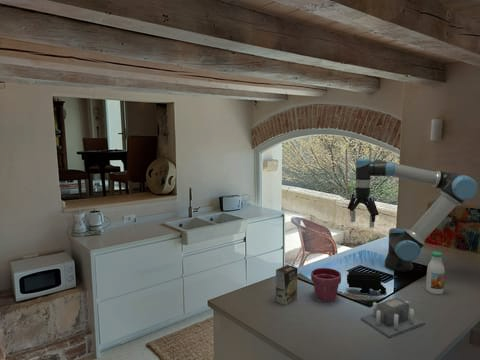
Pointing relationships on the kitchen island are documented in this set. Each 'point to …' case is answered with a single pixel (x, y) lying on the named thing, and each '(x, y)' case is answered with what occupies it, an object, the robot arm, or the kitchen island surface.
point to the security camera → (365, 282)
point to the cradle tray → (390, 329)
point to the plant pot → (326, 283)
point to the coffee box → (286, 284)
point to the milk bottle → (435, 274)
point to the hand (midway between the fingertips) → (362, 224)
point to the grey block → (393, 311)
